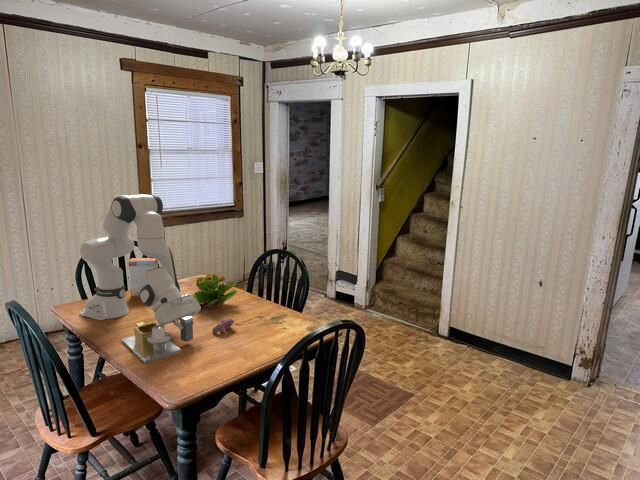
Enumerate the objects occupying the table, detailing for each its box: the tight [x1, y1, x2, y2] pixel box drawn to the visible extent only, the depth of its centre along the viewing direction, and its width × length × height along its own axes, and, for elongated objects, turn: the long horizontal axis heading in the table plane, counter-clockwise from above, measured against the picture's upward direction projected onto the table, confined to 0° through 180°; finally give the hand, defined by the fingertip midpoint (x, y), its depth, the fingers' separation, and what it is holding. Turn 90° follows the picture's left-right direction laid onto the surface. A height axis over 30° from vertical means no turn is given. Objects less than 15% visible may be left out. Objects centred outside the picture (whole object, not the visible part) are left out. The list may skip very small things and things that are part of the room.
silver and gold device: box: [121, 321, 182, 365], centre depth 178 cm, size 26×15×12 cm, turn 43°
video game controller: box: [211, 317, 235, 334], centre depth 197 cm, size 10×5×7 cm, turn 149°
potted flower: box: [191, 273, 238, 308], centre depth 227 cm, size 25×24×18 cm
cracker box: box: [128, 257, 159, 298], centre depth 236 cm, size 14×6×21 cm, turn 93°
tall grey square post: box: [179, 315, 194, 343], centre depth 182 cm, size 4×4×10 cm
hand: (187, 326), depth 182 cm, fingers closed on tall grey square post, 4 cm apart
